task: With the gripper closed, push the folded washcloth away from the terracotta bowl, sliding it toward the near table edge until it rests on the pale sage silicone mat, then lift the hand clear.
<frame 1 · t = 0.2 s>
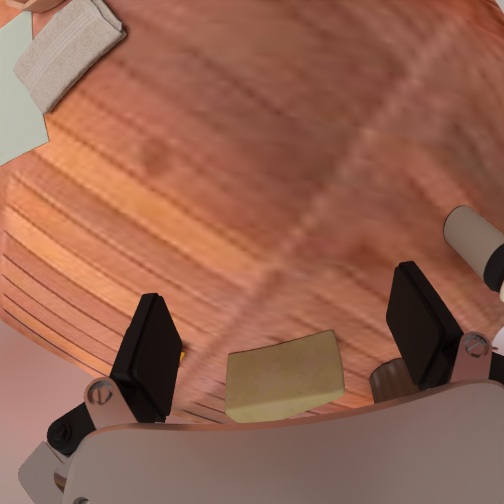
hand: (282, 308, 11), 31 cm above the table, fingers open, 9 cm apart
mat: (5, 88, 29), on the table
washcloth: (69, 50, 28), on the table, touching mat
plant pot: (391, 371, 66), on the table
travel mug: (458, 224, 44), on the table
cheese: (283, 348, 59), on the table
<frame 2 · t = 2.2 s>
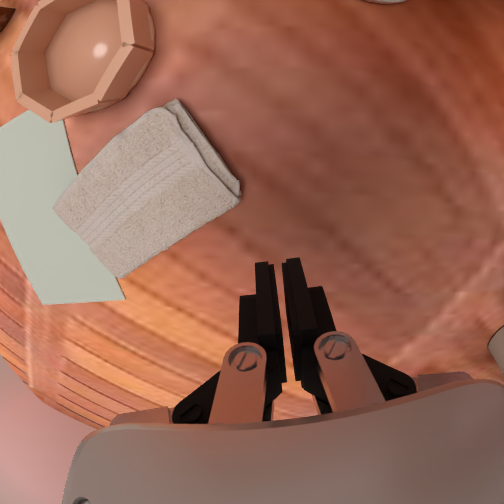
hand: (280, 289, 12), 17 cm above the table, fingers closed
mat: (40, 218, 28), on the table
washcloth: (143, 192, 28), on the table, touching mat
bowl: (93, 50, 19), on the table
travel mug: (500, 335, 43), on the table
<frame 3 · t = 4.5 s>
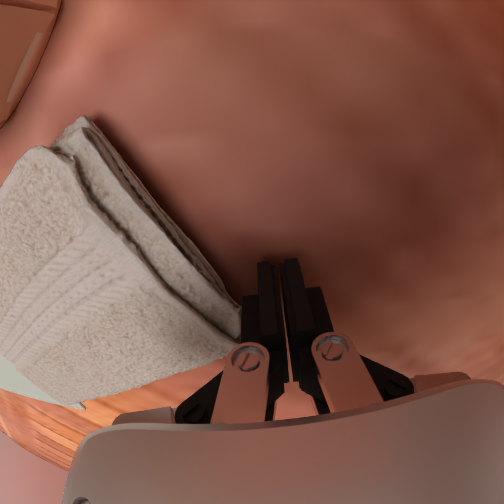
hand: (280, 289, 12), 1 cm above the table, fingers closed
washcloth: (65, 297, 14), on the table, touching gripper
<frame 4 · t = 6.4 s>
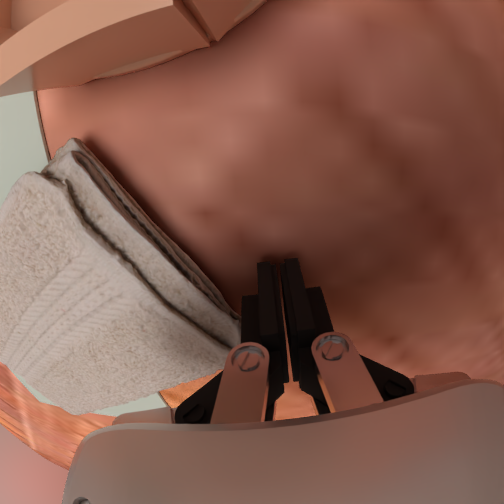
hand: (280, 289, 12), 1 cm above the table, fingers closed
mat: (12, 302, 14), on the table
washcloth: (70, 312, 14), on the table, touching gripper, mat
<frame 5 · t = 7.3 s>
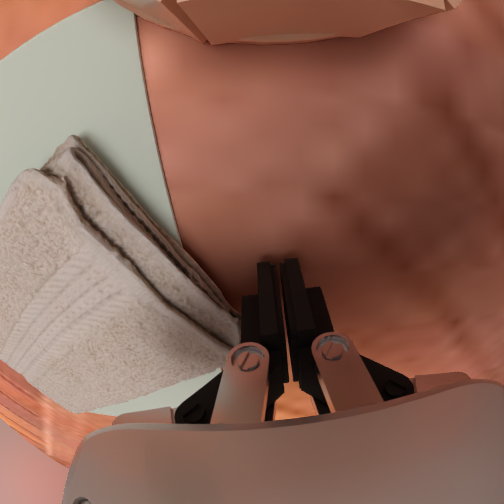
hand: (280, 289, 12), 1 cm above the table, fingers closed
mat: (62, 300, 13), on the table
washcloth: (70, 310, 14), resting on mat, touching gripper
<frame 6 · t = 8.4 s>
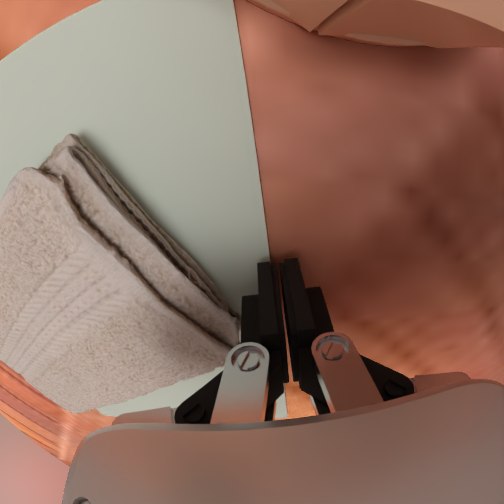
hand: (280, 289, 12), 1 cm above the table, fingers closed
mat: (110, 297, 13), on the table
washcloth: (69, 309, 14), resting on mat, touching gripper
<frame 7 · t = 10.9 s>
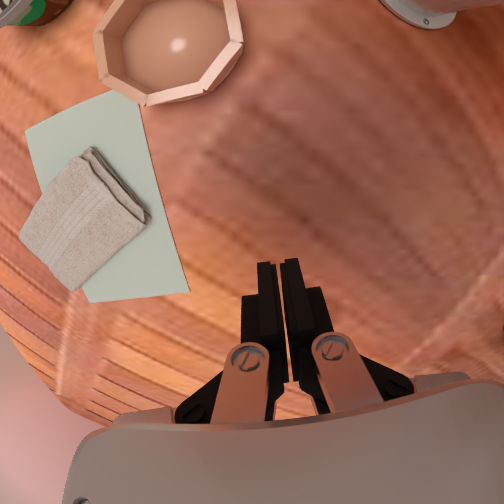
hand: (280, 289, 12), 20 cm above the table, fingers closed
mat: (100, 210, 31), on the table
washcloth: (81, 222, 32), resting on mat
bowl: (176, 43, 22), on the table
food container: (41, 12, 18), on the table
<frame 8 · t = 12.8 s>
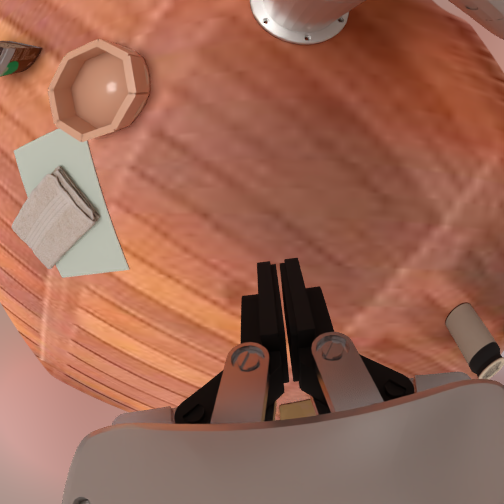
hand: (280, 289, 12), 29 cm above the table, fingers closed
mat: (66, 208, 41), on the table
washcloth: (55, 218, 41), resting on mat
bowl: (107, 88, 32), on the table
travel mug: (457, 314, 55), on the table
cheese: (321, 399, 70), on the table
food container: (19, 61, 26), on the table
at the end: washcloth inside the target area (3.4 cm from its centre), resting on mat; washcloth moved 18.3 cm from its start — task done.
